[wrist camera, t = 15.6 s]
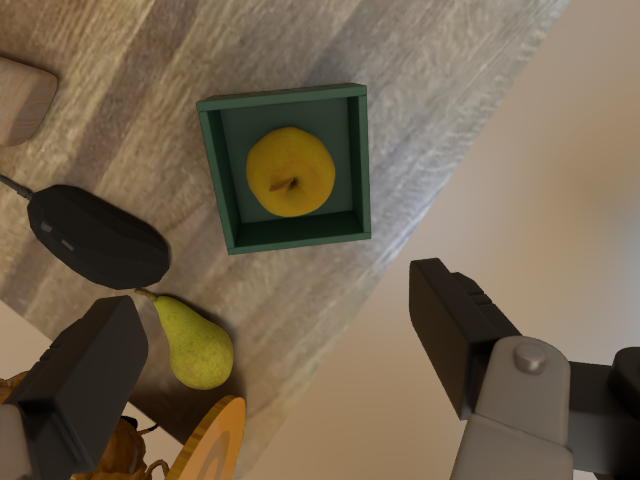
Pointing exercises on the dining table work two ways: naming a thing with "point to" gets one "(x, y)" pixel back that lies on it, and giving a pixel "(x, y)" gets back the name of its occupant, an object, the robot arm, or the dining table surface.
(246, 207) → the bin
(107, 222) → the gaming mouse
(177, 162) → the dining table surface
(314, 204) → the apple
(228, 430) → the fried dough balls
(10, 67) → the axe
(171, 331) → the fruit
